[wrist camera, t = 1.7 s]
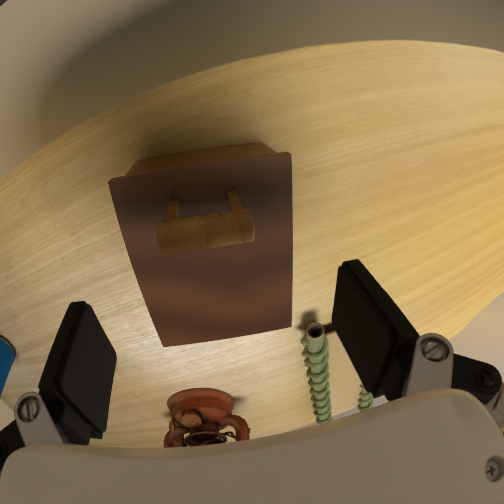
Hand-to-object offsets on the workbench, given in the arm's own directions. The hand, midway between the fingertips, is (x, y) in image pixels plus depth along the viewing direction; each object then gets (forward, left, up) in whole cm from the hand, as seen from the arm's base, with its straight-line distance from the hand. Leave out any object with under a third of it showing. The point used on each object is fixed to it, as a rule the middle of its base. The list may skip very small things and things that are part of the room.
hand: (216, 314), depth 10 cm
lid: (+5, 0, -12) cm, 13 cm away
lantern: (+43, -8, -21) cm, 48 cm away
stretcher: (+41, +20, -21) cm, 50 cm away
